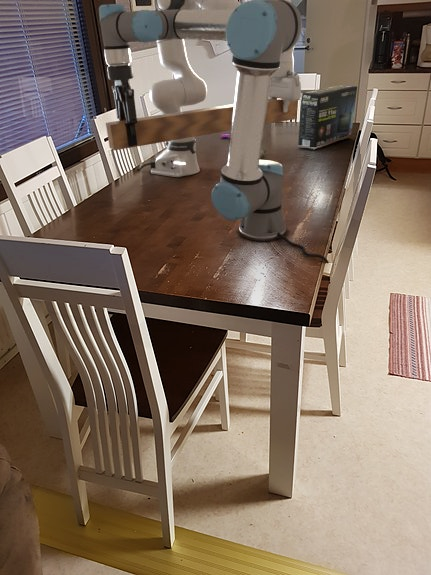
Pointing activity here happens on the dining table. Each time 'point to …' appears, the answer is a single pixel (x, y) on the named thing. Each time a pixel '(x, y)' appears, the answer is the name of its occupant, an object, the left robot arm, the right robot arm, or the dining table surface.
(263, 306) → the dining table surface
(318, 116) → the router box
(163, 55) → the left robot arm
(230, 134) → the purple curved segmented piece
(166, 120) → the bar
